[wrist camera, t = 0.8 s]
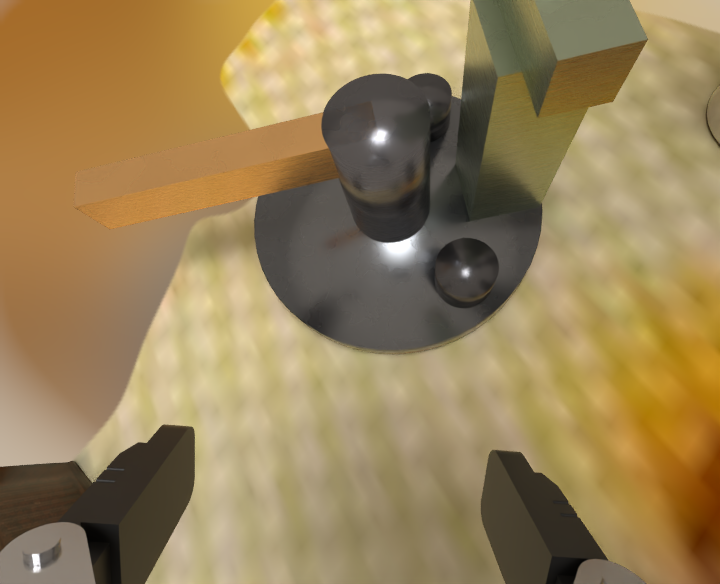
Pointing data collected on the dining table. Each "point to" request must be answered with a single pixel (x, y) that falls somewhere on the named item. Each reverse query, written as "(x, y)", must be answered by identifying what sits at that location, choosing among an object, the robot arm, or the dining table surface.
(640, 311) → the dining table surface
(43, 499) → the manual coffee grinder
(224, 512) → the dining table surface
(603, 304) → the dining table surface
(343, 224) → the base
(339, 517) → the dining table surface
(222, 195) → the wooden handled mallet
